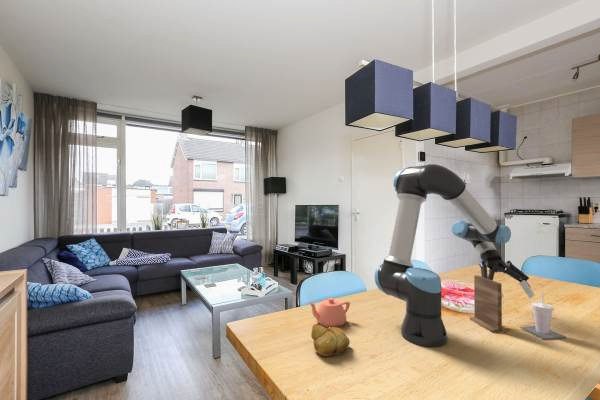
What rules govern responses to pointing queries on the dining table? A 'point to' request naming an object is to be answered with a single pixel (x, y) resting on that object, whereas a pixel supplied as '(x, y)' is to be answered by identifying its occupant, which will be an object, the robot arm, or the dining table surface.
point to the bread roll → (329, 340)
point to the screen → (488, 304)
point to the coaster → (551, 334)
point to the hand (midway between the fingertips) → (516, 297)
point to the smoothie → (542, 316)
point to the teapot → (330, 312)
